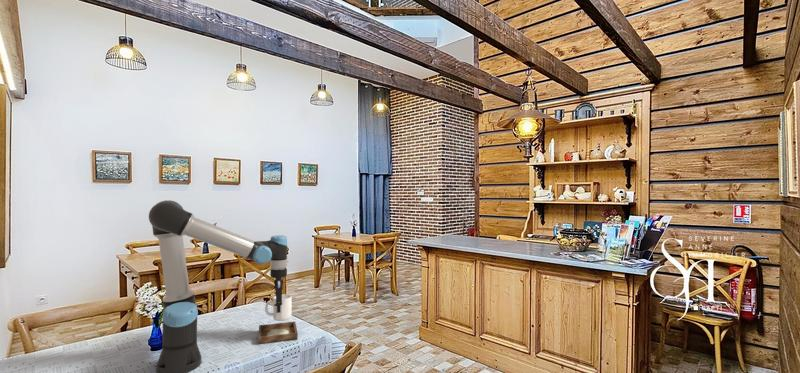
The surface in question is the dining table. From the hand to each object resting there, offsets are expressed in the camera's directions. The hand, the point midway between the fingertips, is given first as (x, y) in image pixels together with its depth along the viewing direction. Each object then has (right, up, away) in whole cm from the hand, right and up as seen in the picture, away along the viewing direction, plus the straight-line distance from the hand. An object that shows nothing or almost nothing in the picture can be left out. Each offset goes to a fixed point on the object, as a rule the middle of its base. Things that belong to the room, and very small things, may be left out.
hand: (278, 315), depth 175 cm
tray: (0, -9, 0) cm, 9 cm away
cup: (0, -2, 0) cm, 2 cm away
